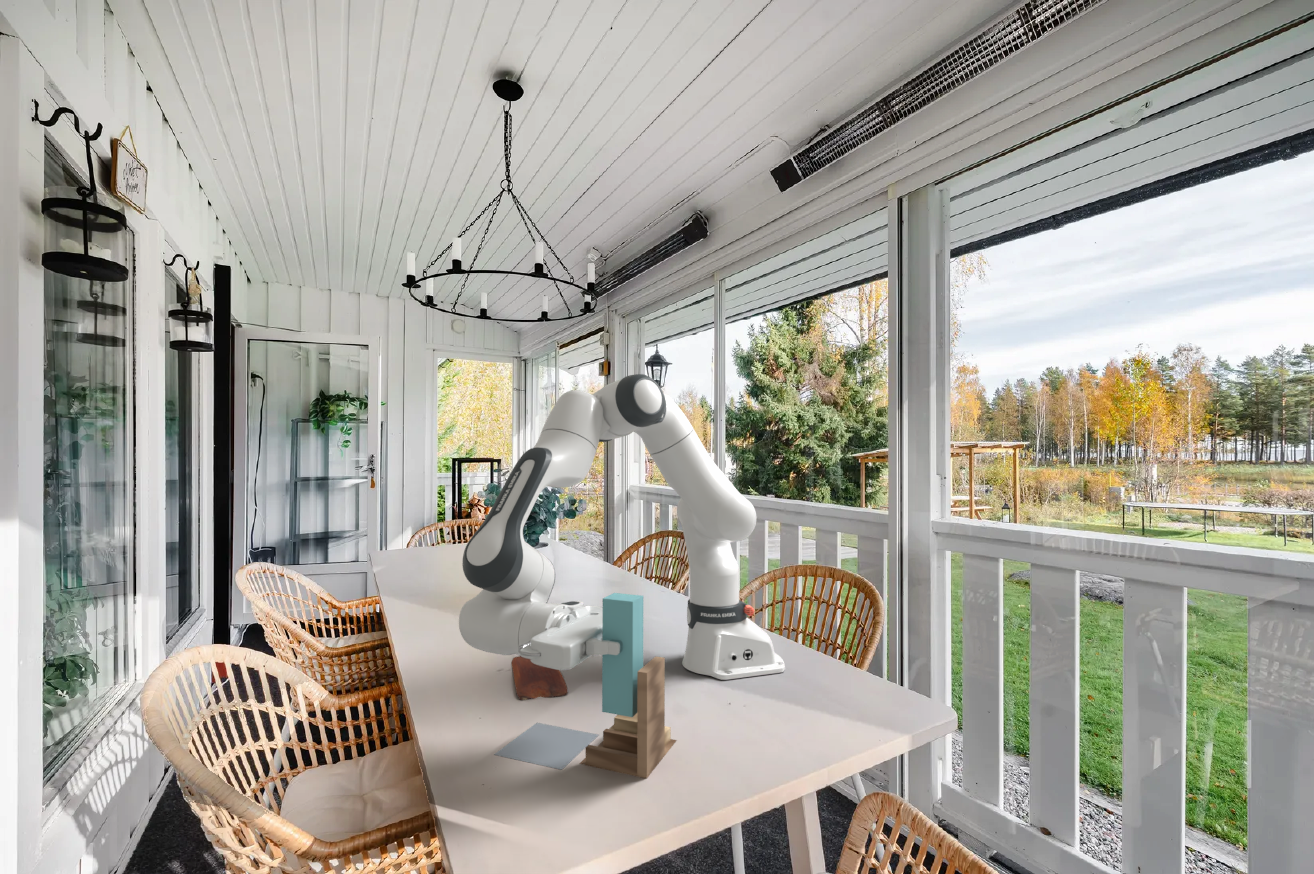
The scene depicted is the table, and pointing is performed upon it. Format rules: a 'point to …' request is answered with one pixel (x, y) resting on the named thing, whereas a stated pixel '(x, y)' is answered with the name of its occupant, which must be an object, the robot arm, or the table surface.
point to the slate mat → (547, 745)
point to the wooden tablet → (537, 680)
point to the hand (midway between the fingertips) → (628, 642)
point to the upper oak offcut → (626, 724)
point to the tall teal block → (622, 653)
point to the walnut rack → (649, 743)
